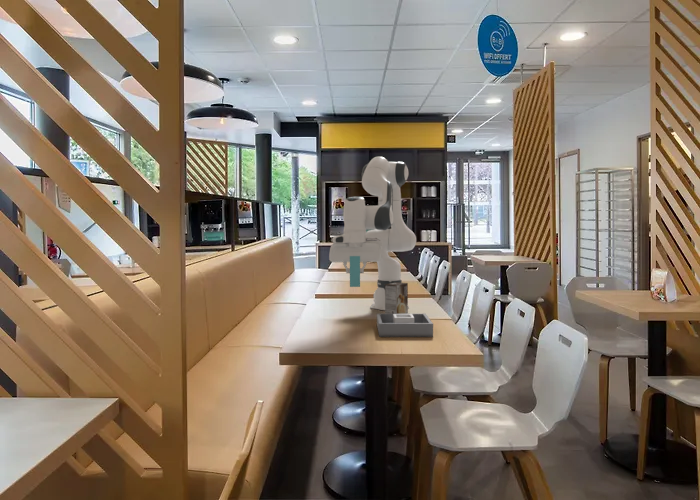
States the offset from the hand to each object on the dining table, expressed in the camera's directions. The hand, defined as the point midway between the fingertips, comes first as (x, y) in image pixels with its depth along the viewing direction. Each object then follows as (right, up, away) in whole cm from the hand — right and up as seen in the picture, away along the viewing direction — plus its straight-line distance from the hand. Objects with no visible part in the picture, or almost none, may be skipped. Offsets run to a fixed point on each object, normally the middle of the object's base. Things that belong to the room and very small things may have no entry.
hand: (354, 273), depth 194 cm
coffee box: (+18, -22, +20) cm, 35 cm away
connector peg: (0, -5, 0) cm, 5 cm away
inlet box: (+19, -23, -1) cm, 30 cm away
